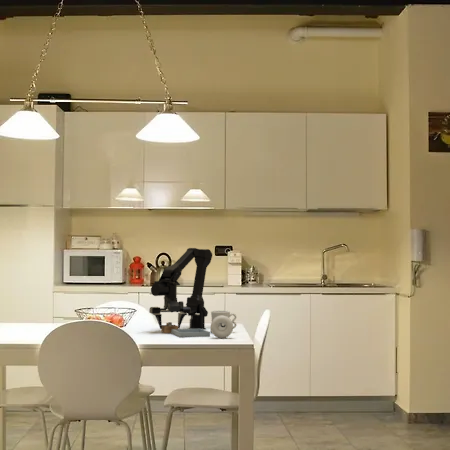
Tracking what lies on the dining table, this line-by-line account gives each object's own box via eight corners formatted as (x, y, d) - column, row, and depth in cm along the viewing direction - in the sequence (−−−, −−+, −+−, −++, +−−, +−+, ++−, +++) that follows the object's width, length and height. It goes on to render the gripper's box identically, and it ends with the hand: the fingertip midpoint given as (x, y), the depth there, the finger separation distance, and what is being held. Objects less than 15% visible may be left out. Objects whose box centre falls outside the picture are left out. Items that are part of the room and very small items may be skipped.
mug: (212, 334, 308) (213, 312, 308) (208, 331, 317) (209, 310, 317) (238, 333, 311) (239, 312, 311) (234, 331, 320) (234, 310, 320)
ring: (174, 331, 317) (174, 322, 317) (178, 332, 311) (178, 324, 311) (161, 331, 315) (161, 322, 315) (164, 333, 309) (165, 324, 309)
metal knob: (171, 331, 315) (172, 322, 315) (173, 332, 312) (173, 322, 312) (165, 331, 314) (165, 322, 314) (167, 332, 311) (167, 322, 311)
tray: (200, 332, 312) (200, 328, 312) (210, 336, 299) (210, 331, 299) (171, 333, 307) (171, 329, 307) (180, 337, 294) (180, 332, 294)
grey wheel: (233, 338, 295) (233, 315, 295) (232, 339, 291) (233, 316, 292) (210, 337, 295) (211, 314, 296) (210, 338, 292) (210, 315, 292)
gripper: (155, 296, 303) (154, 331, 302) (194, 296, 309) (194, 330, 309) (149, 294, 313) (148, 328, 313) (187, 294, 320) (186, 327, 319)
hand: (169, 328), depth 313 cm, fingers open, 8 cm apart
